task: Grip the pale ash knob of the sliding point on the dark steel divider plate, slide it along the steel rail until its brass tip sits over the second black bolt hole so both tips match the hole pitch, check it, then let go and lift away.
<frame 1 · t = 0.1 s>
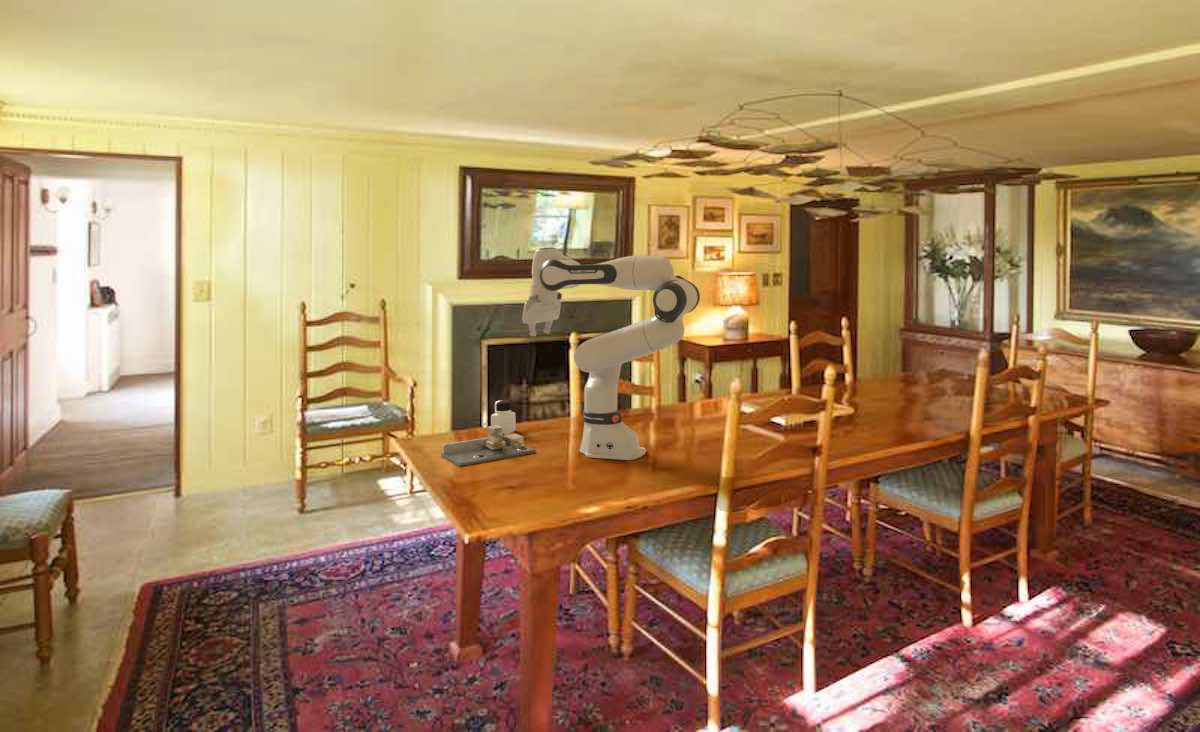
hand: (539, 334, 258), 39 cm above the table, tool pointing down, fingers open, 8 cm apart
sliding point: (498, 438, 252), point 5 cm above the table, slide at -4.0 cm
medicine bottle: (503, 432, 280), on the table
divider plate: (489, 454, 250), on the table
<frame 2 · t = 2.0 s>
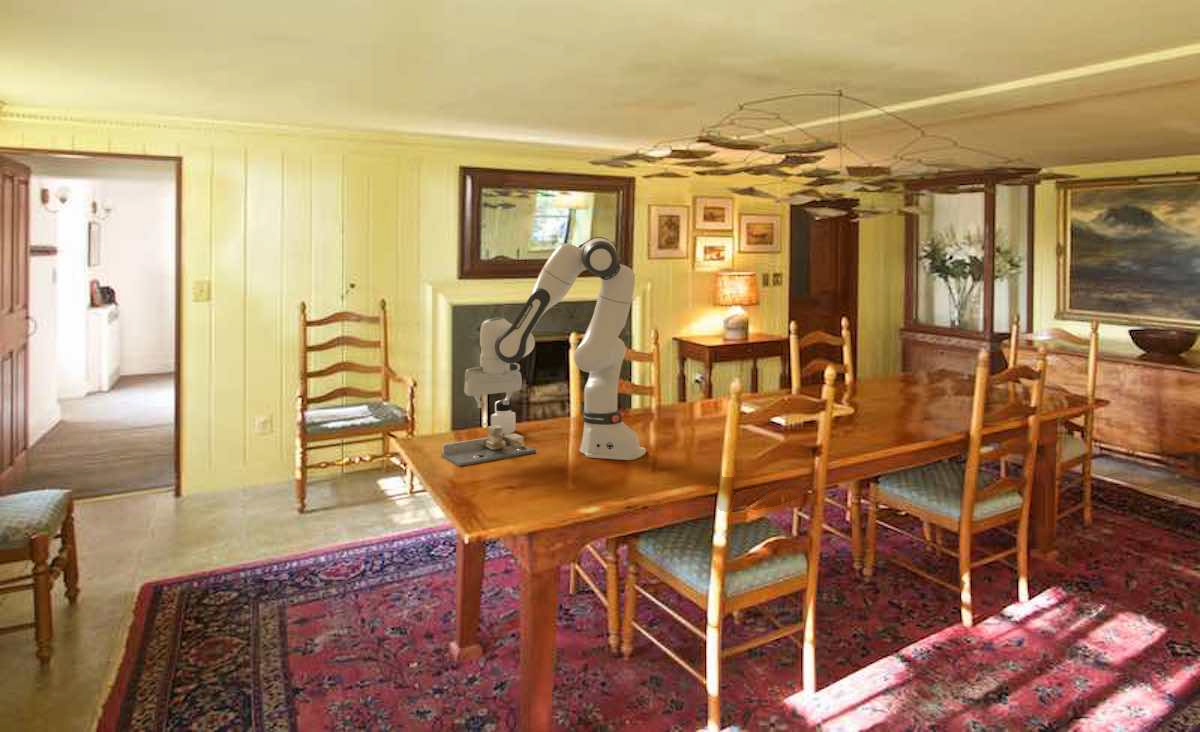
hand: (493, 406, 252), 16 cm above the table, tool pointing down, fingers open, 8 cm apart
nothing on the table moved.
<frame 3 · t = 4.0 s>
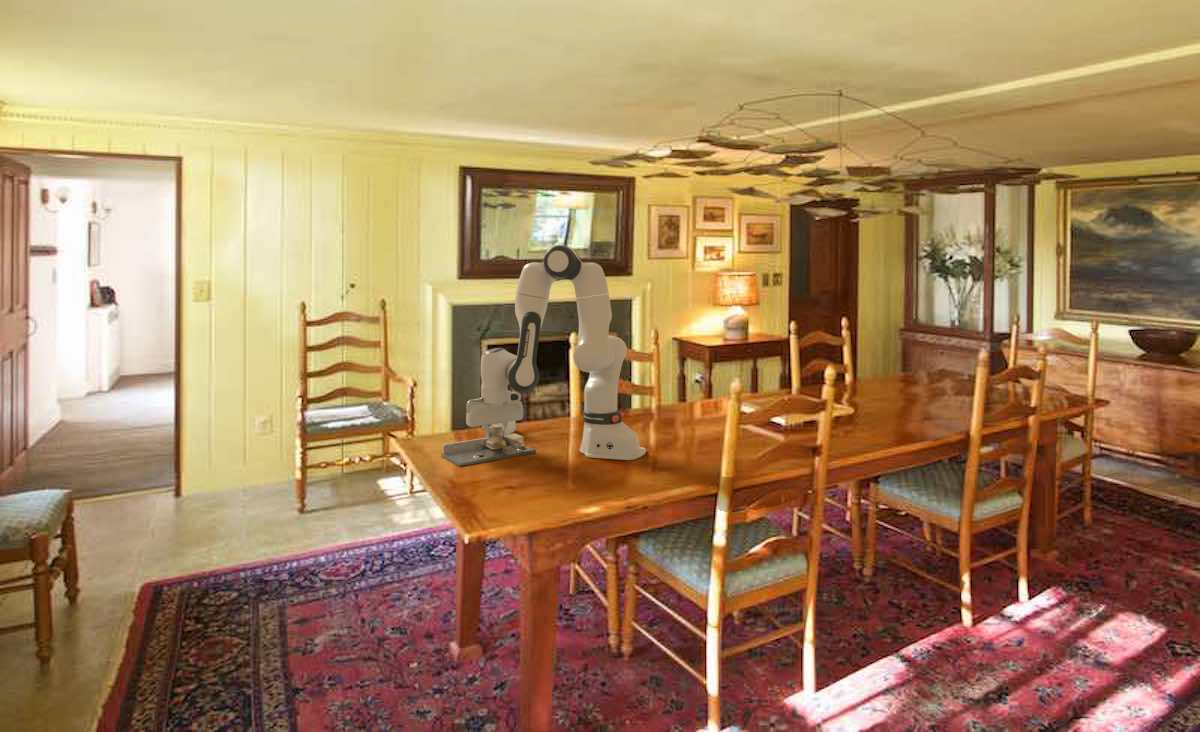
hand: (495, 436, 254), 5 cm above the table, tool pointing down, fingers closed on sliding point, 3 cm apart
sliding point: (498, 438, 252), point 5 cm above the table, slide at -4.0 cm, touching gripper
everything else where it was.
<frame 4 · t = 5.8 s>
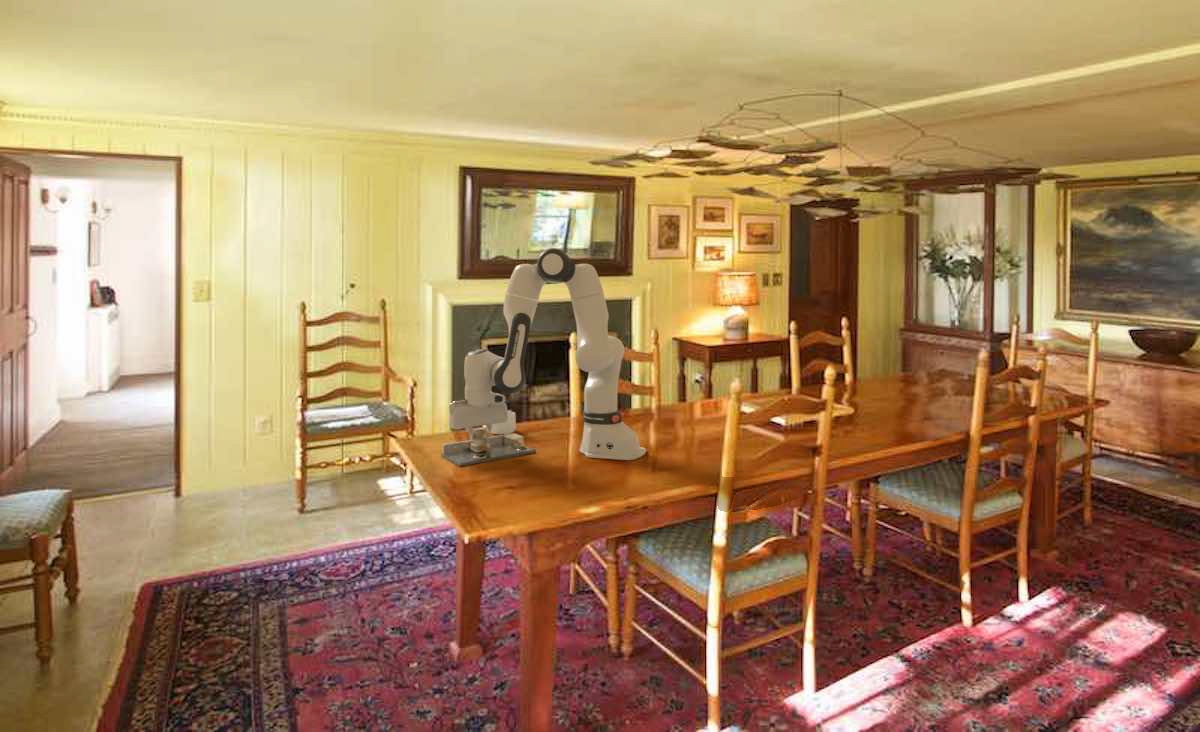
hand: (479, 438, 250), 5 cm above the table, tool pointing down, fingers closed on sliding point, 3 cm apart
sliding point: (482, 441, 249), point 5 cm above the table, slide at 1.8 cm, touching gripper
everything else where it was.
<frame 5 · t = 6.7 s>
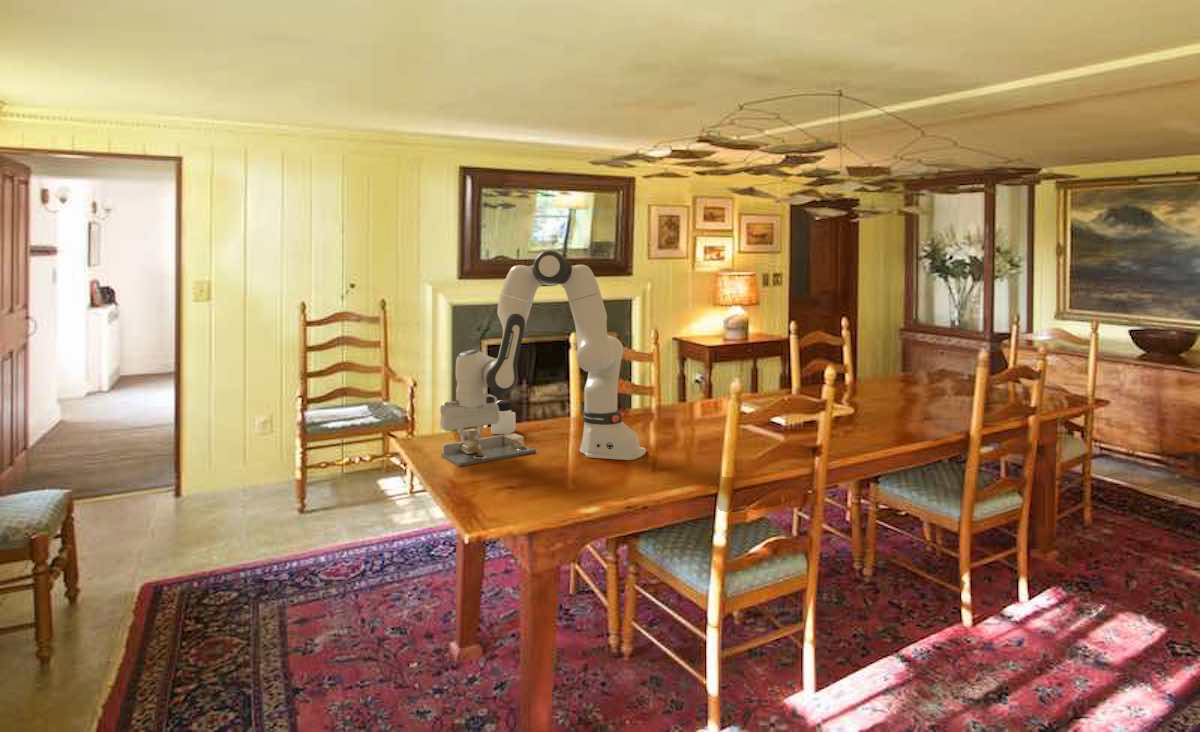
hand: (470, 439, 249), 5 cm above the table, tool pointing down, fingers closed on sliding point, 3 cm apart
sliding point: (474, 442, 247), point 5 cm above the table, slide at 5.0 cm, touching gripper
everything else where it was.
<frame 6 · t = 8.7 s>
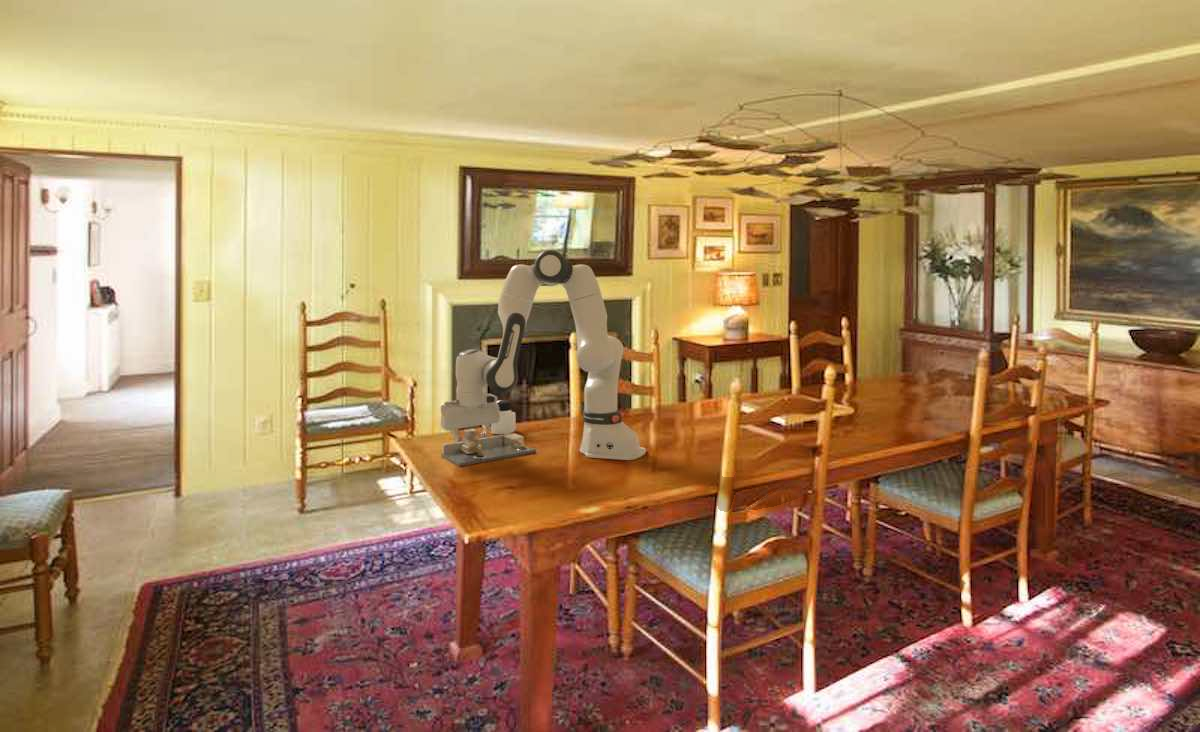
hand: (471, 439, 248), 5 cm above the table, tool pointing down, fingers open, 8 cm apart
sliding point: (474, 442, 247), point 5 cm above the table, slide at 5.0 cm
everything else where it was.
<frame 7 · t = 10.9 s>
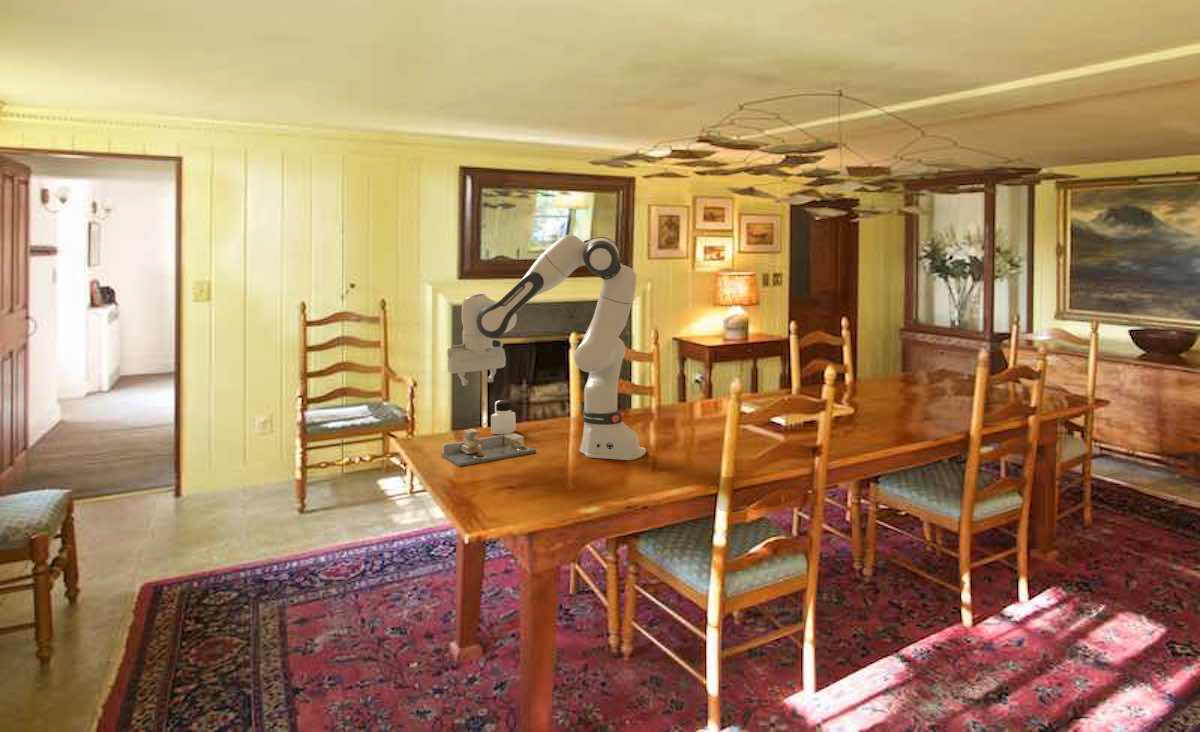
hand: (477, 383, 251), 23 cm above the table, tool pointing down, fingers open, 8 cm apart
nothing on the table moved.
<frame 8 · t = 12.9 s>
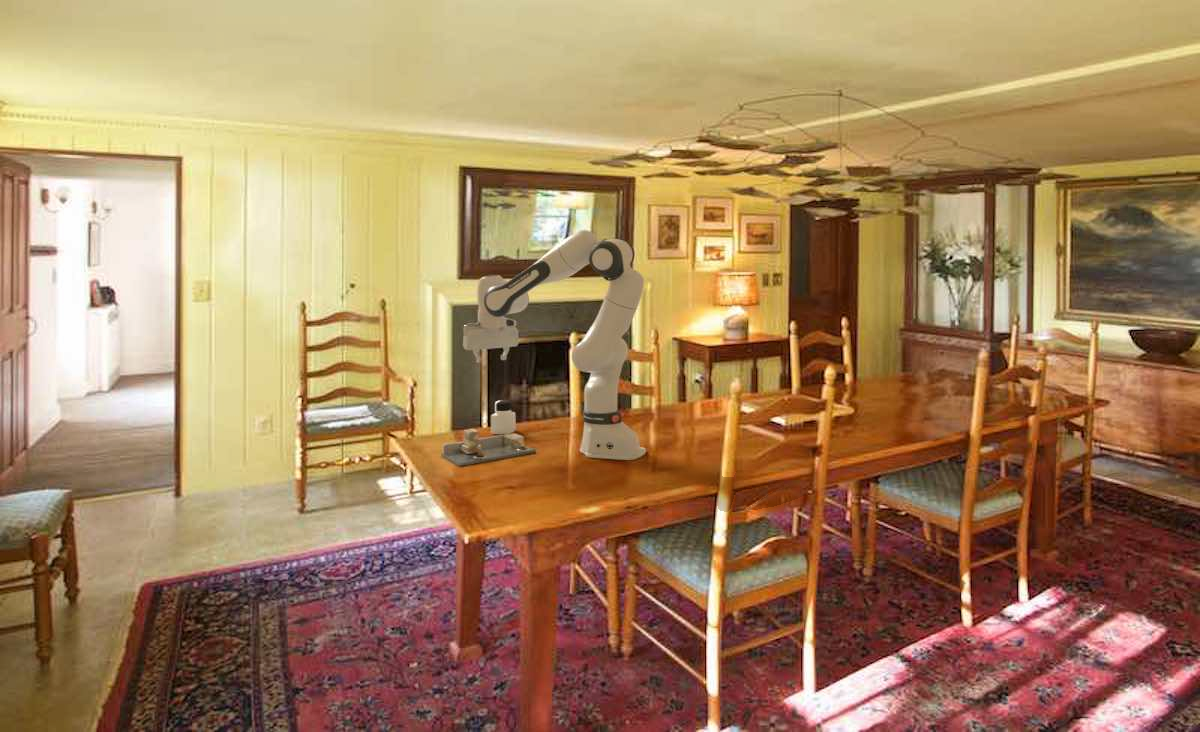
hand: (491, 361, 262), 29 cm above the table, tool pointing down, fingers open, 8 cm apart
nothing on the table moved.
at the end: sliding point slide at 5.0 cm; the gripper is holding nothing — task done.
